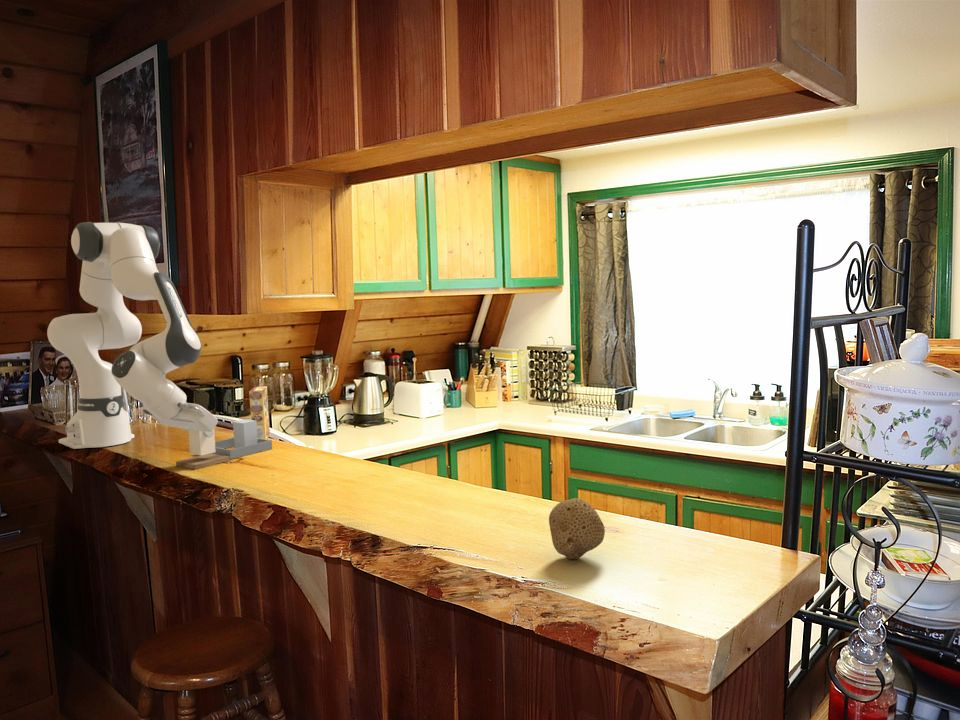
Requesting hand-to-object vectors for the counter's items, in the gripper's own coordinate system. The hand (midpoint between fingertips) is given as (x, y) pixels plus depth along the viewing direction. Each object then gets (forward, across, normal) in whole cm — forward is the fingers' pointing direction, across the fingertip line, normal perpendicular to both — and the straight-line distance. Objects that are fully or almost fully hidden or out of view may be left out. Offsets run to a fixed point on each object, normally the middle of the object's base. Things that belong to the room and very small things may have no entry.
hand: (203, 434), depth 201 cm
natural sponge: (-4, -115, +15) cm, 116 cm away
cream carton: (+3, 0, +4) cm, 5 cm away
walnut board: (+5, 0, +6) cm, 8 cm away
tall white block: (+17, +4, -6) cm, 19 cm away
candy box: (+26, +12, -15) cm, 32 cm away
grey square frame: (+15, +4, -4) cm, 16 cm away
